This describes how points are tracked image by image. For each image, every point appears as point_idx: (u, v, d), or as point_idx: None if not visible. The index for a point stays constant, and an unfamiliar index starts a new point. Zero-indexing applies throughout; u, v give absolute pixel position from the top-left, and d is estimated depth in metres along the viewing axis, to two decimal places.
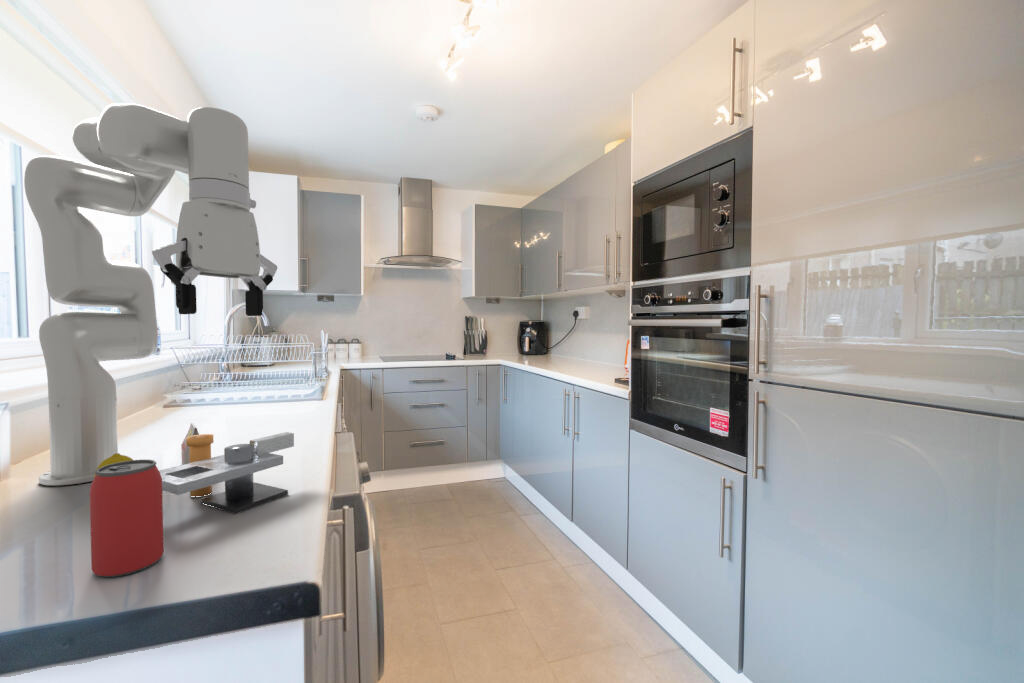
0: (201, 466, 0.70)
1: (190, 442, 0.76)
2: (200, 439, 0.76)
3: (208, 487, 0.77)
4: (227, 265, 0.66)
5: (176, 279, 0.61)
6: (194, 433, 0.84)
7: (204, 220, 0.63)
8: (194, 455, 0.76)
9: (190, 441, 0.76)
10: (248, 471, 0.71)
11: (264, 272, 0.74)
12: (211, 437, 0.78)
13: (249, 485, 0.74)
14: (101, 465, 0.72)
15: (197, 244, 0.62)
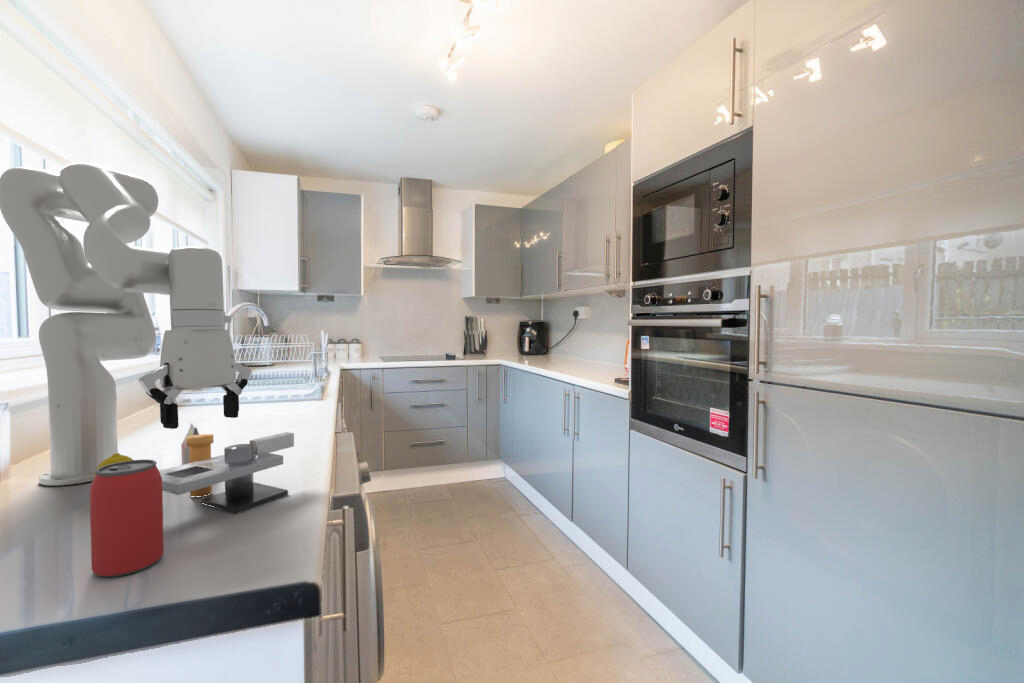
0: (201, 466, 0.70)
1: (190, 442, 0.76)
2: (200, 439, 0.76)
3: (208, 487, 0.77)
4: (205, 381, 0.76)
5: (160, 400, 0.71)
6: (194, 433, 0.84)
7: (184, 346, 0.73)
8: (194, 455, 0.76)
9: (190, 441, 0.76)
10: (248, 471, 0.71)
11: (240, 376, 0.83)
12: (211, 437, 0.78)
13: (249, 485, 0.74)
14: (101, 465, 0.72)
15: (178, 368, 0.72)
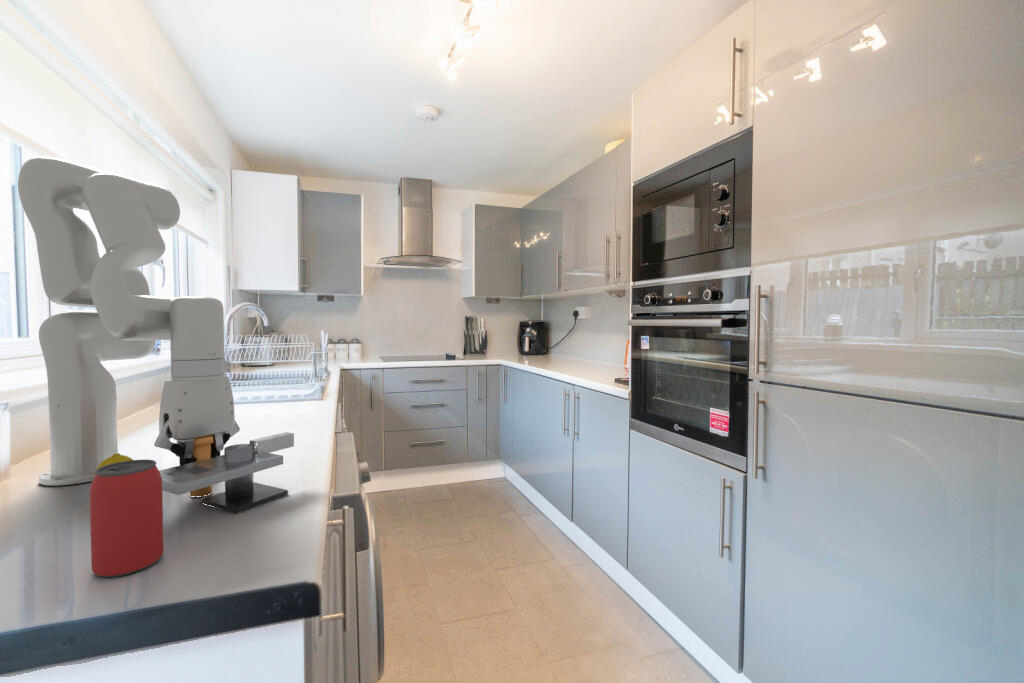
0: (201, 466, 0.70)
1: None
2: (200, 439, 0.76)
3: (208, 487, 0.77)
4: (204, 429, 0.76)
5: (180, 455, 0.74)
6: None
7: (183, 397, 0.73)
8: (194, 455, 0.76)
9: None
10: (248, 471, 0.71)
11: None
12: (211, 437, 0.78)
13: (249, 485, 0.74)
14: (101, 465, 0.72)
15: (177, 419, 0.72)
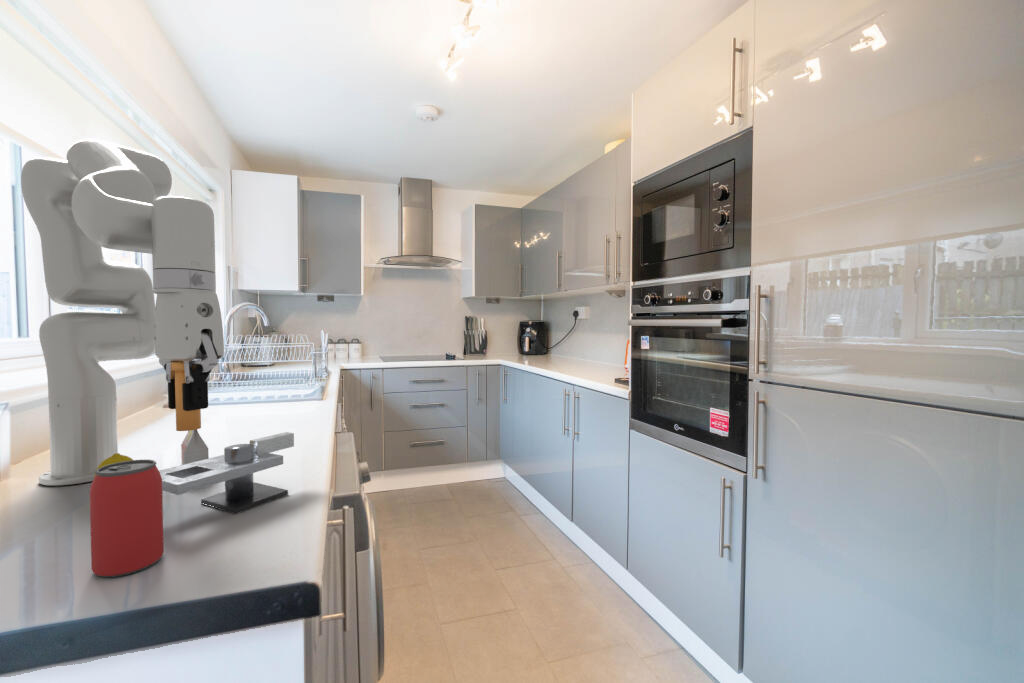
0: (201, 466, 0.70)
1: None
2: None
3: (179, 421, 0.66)
4: (168, 352, 0.65)
5: None
6: (194, 433, 0.84)
7: (155, 312, 0.67)
8: None
9: None
10: (248, 471, 0.71)
11: None
12: (178, 363, 0.65)
13: (249, 485, 0.74)
14: (101, 465, 0.72)
15: (154, 336, 0.67)
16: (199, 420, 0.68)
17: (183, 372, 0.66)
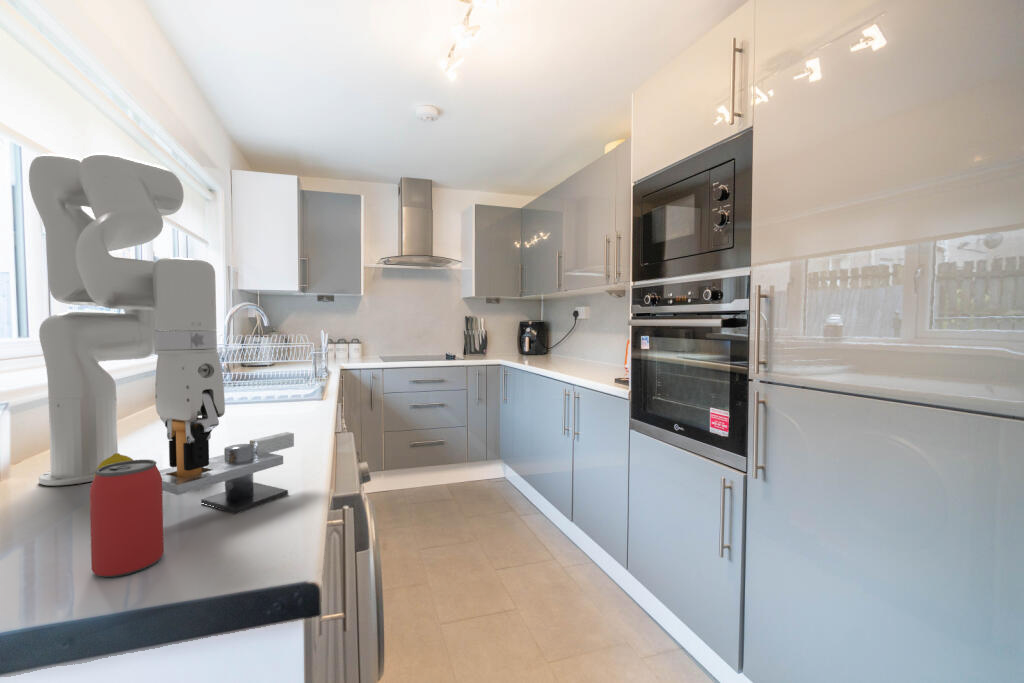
0: None
1: None
2: (172, 422, 0.66)
3: None
4: (170, 412, 0.66)
5: None
6: None
7: (157, 371, 0.67)
8: None
9: None
10: (248, 471, 0.71)
11: None
12: (179, 423, 0.66)
13: (249, 485, 0.74)
14: (101, 465, 0.72)
15: (155, 394, 0.67)
16: None
17: (184, 431, 0.66)
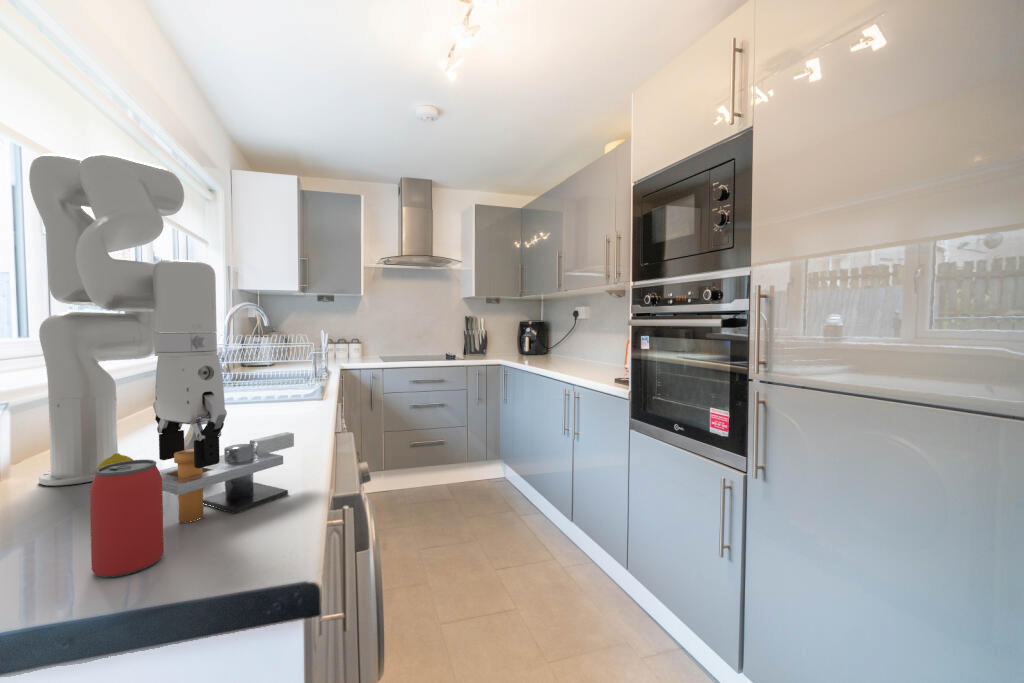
0: None
1: None
2: (174, 454, 0.66)
3: (181, 513, 0.66)
4: (170, 414, 0.66)
5: None
6: (194, 433, 0.84)
7: (157, 373, 0.67)
8: None
9: None
10: (248, 471, 0.71)
11: None
12: (181, 456, 0.66)
13: (249, 485, 0.74)
14: (101, 465, 0.72)
15: (155, 396, 0.67)
16: (202, 509, 0.68)
17: (186, 464, 0.66)
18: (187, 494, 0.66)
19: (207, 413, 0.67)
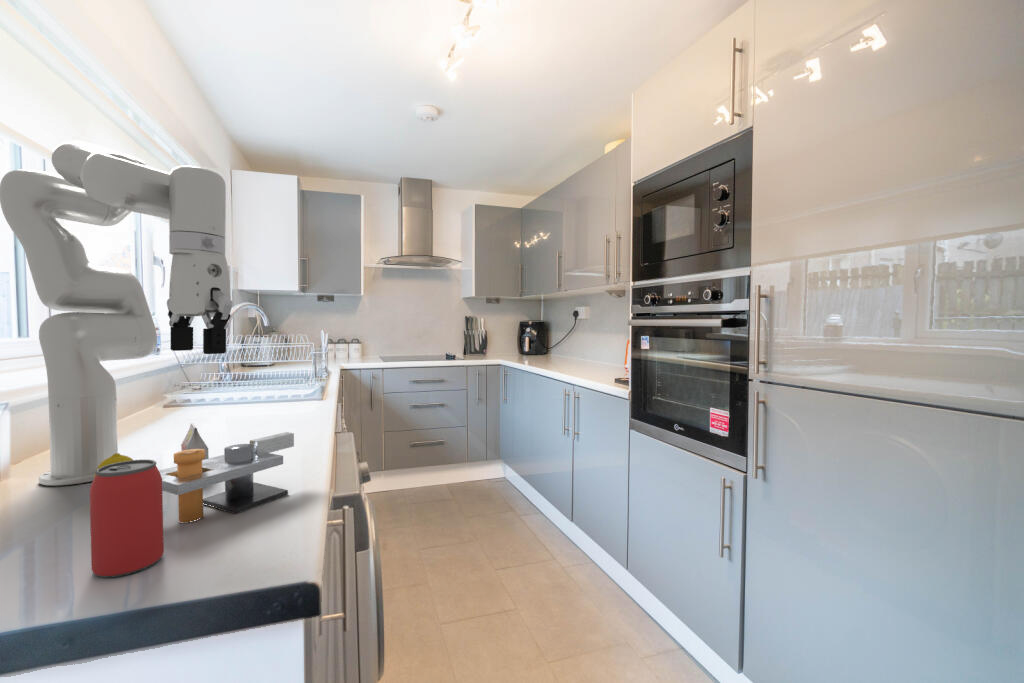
0: None
1: None
2: (174, 455, 0.66)
3: (181, 514, 0.66)
4: (181, 307, 0.73)
5: None
6: (194, 433, 0.84)
7: (171, 271, 0.74)
8: None
9: None
10: (248, 471, 0.71)
11: None
12: (181, 457, 0.66)
13: (249, 485, 0.74)
14: (101, 465, 0.72)
15: (169, 293, 0.74)
16: (201, 510, 0.68)
17: (186, 464, 0.66)
18: (187, 494, 0.66)
19: (215, 308, 0.73)
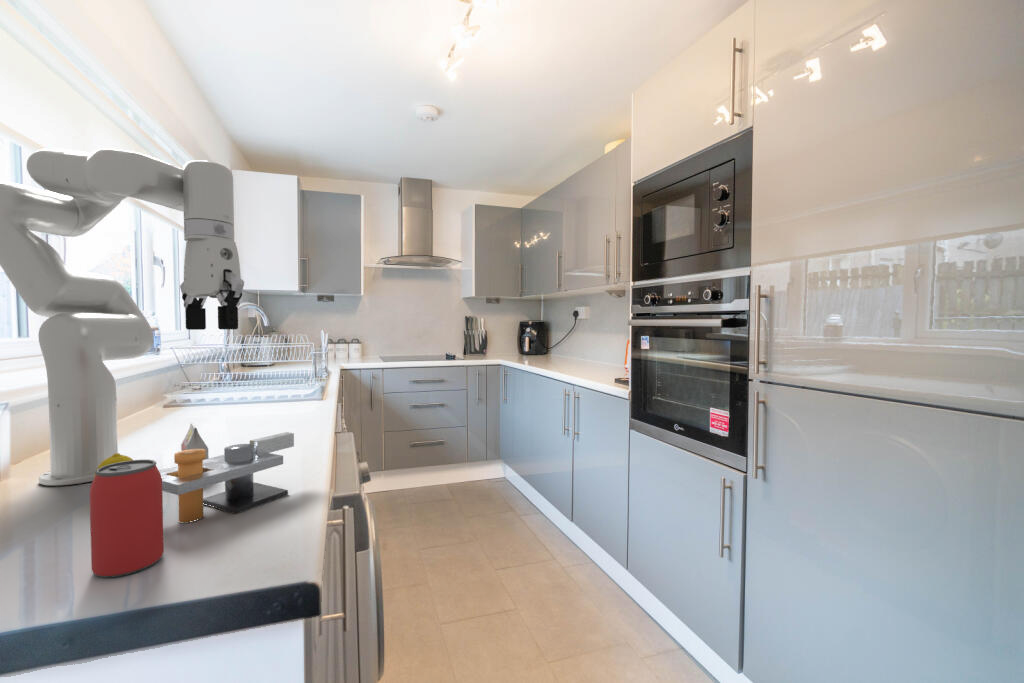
0: None
1: None
2: (174, 455, 0.66)
3: (181, 513, 0.66)
4: (196, 289, 0.80)
5: None
6: (194, 433, 0.84)
7: (185, 257, 0.81)
8: None
9: None
10: (248, 471, 0.71)
11: None
12: (182, 457, 0.66)
13: (249, 485, 0.74)
14: (101, 465, 0.72)
15: (184, 276, 0.82)
16: (202, 510, 0.68)
17: (186, 464, 0.66)
18: (187, 494, 0.66)
19: (227, 289, 0.81)
